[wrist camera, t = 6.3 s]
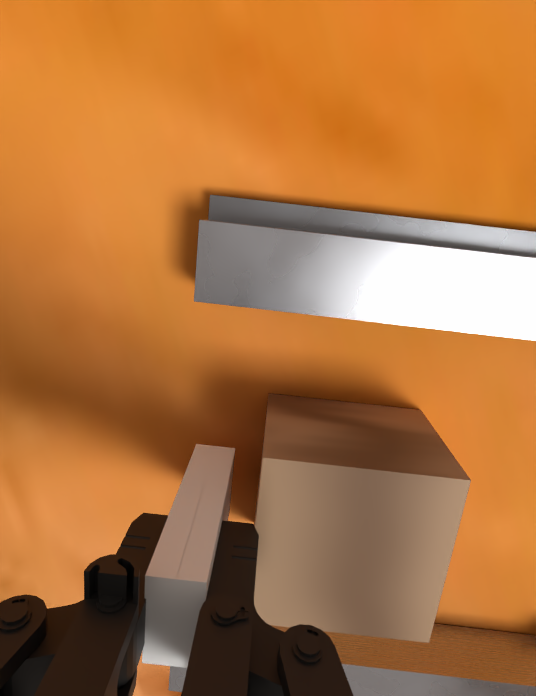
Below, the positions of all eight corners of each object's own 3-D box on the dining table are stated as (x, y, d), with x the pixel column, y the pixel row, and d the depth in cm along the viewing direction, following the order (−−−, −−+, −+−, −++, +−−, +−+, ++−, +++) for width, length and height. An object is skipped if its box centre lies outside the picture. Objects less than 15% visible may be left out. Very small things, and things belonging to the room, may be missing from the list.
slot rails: (180, 650, 22) (167, 704, 19) (213, 195, 16) (200, 192, 14) (516, 689, 22) (545, 749, 19) (670, 247, 16) (738, 252, 13)
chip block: (254, 522, 20) (244, 622, 15) (268, 393, 18) (262, 457, 13) (393, 538, 20) (429, 642, 15) (420, 409, 18) (470, 480, 13)
